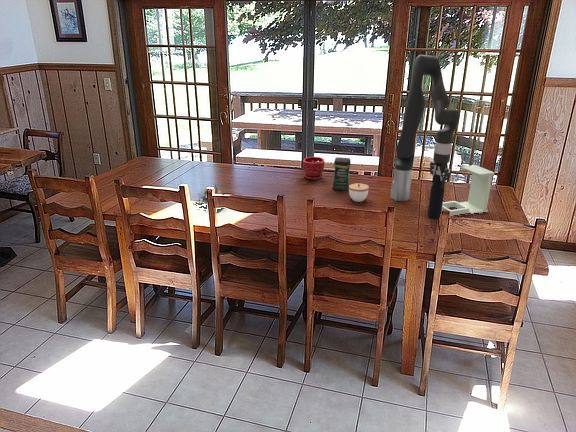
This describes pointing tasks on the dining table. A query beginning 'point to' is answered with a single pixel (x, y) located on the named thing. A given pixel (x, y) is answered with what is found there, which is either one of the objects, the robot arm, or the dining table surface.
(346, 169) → the coffee jar
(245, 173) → the dining table surface
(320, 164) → the plant pot
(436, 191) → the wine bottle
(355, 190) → the lidded jar
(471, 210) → the sage socket stand
